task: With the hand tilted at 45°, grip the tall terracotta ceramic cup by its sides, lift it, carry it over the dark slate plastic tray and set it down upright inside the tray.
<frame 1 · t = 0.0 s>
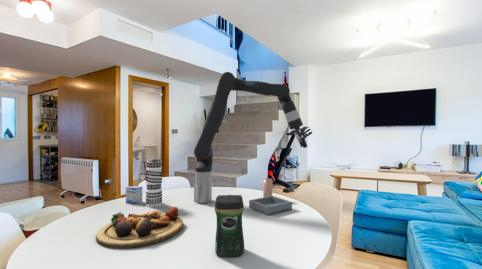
hand: (304, 146, 135), 31 cm above the table, tool tilted 20°, fingers open, 8 cm apart
coffee jar: (229, 252, 80), on the table
wooden plate with food: (142, 231, 98), on the table
tray: (270, 208, 126), on the table
cup: (267, 199, 144), on the table
medicine box: (134, 202, 138), on the table
model tower building: (154, 204, 134), on the table
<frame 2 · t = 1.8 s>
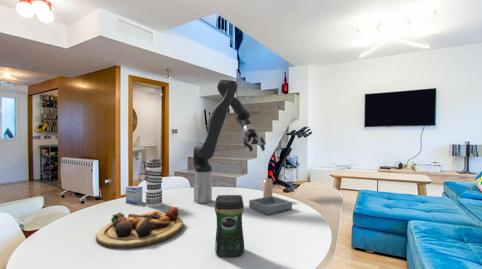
hand: (257, 150, 155), 28 cm above the table, tool tilted 45°, fingers open, 8 cm apart
nothing on the table moved.
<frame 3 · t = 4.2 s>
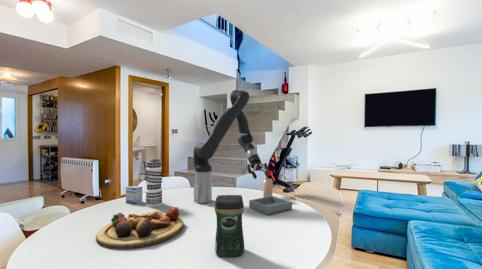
hand: (261, 177, 150), 12 cm above the table, tool tilted 45°, fingers open, 8 cm apart
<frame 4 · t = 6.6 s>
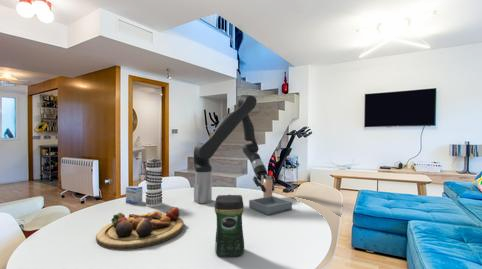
hand: (269, 191, 143), 5 cm above the table, tool tilted 45°, fingers closed on cup, 5 cm apart
cup: (267, 199, 144), on the table, touching gripper
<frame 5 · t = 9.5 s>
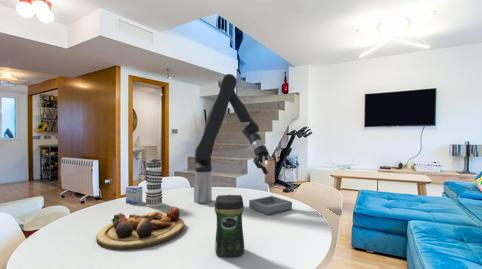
hand: (270, 173, 130), 18 cm above the table, tool tilted 45°, fingers closed on cup, 5 cm apart
cup: (269, 182, 131), point 13 cm above the table, touching gripper
when the fingers open (8 cm above the table, at t = 12.3 s): cup drops 1 cm, resting on tray.
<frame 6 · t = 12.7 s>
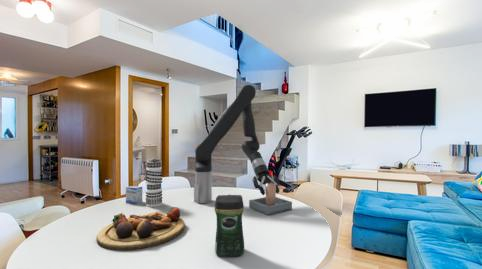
hand: (271, 193, 125), 8 cm above the table, tool tilted 45°, fingers open, 8 cm apart
cup: (270, 206, 126), point 1 cm above the table, touching tray
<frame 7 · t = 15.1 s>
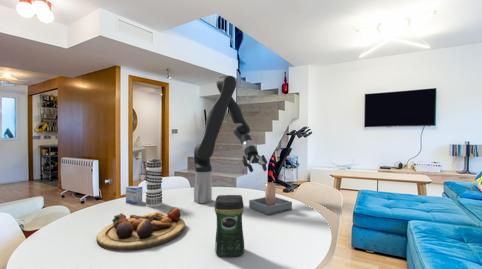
hand: (258, 170, 137), 18 cm above the table, tool tilted 45°, fingers open, 8 cm apart
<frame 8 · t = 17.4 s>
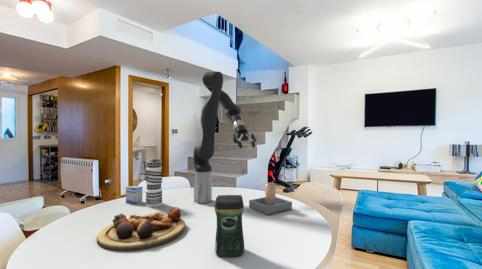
hand: (247, 147, 147), 31 cm above the table, tool tilted 45°, fingers open, 8 cm apart
at the end: cup inside the target area on the tray (0.2 cm from its centre), point 1.0 cm above the tray's base; cup tilted 1°; the gripper is holding nothing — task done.
